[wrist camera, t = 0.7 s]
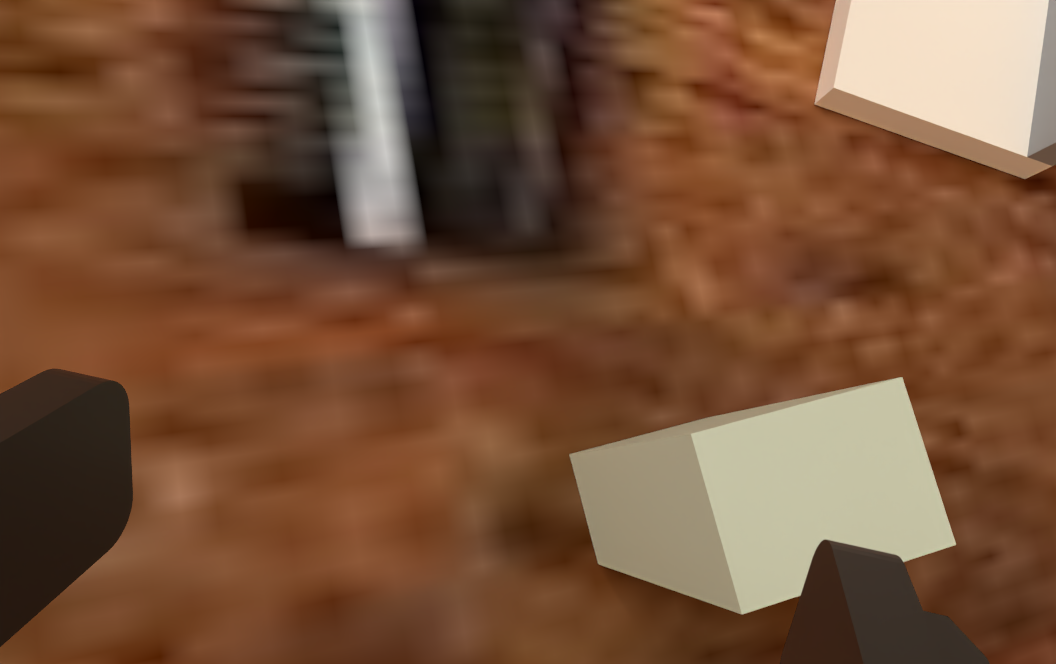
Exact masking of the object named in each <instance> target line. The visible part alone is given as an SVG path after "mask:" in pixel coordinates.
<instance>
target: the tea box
mask: <svg viewBox="0 0 1056 664" xmlns="http://www.w3.org/2000/svg"><path fill="white" fill-rule="evenodd" d="M569 455H570V459H571V463H572V466H573V470H574V474H575V478H576V482H577V485H578V489H579V493H580V497H581V501H582V505H583V508H584V512H585V516H586V520H587V524H588V527H589V531H590V535H591V539H592V543H593V546H594V550H595V554H596V558H597V562H598V564H599V565H602V566H605V567H608V568H610V569H613V570H616V571H619V572H622V573H625V574H628V575H630V576H633V577H636V578H639V579H642V580H645V581H648V582H650V583H653V584H656V585H659V586H662V587H665V588H668V589H670V590H673V591H676V592H679V593H682V594H685V595H688V596H690V597H693V598H696V599H699V600H702V601H705V602H708V603H710V604H713V605H716V606H719V607H722V608H725V609H728V610H730V611H733V612H736V613H739V614H745V613H748V612H752V611H755V610H758V609H761V608H764V607H767V606H770V605H773V604H776V603H779V602H782V601H785V600H788V599H791V598H794V597H798V596H801V593H802V589H803V586H804V583H805V580H806V577H807V574H808V571H809V567H810V564H811V561H812V558H813V555H814V553H815V551H816V548H817V547H818V545H819V544H820V542H821V541H823V540H826V539H827V540H831V541H836V542H840V543H845V544H849V545H854V546H858V547H863V548H868V549H872V550H877V551H881V552H886V553H890V554H895V555H898V556H899V557H900V558H901V559H902V561H903V562H905V561H908V560H911V559H914V558H917V557H920V556H923V555H926V554H930V553H933V552H936V551H939V550H942V549H945V548H948V547H951V546H954V545H956V543H955V540H954V536H953V533H952V530H951V527H950V524H949V521H948V518H947V515H946V512H945V508H944V505H943V502H942V499H941V496H940V493H939V490H938V487H937V484H936V480H935V477H934V474H933V471H932V468H931V465H930V462H929V459H928V456H927V453H926V449H925V446H924V443H923V440H922V437H921V434H920V431H919V428H918V425H917V421H916V418H915V415H914V412H913V409H912V406H911V403H910V400H909V397H908V393H907V390H906V387H905V384H904V381H903V378H902V377H899V378H895V379H890V380H885V381H880V382H876V383H871V384H866V385H861V386H856V387H852V388H847V389H842V390H837V391H833V392H828V393H823V394H818V395H813V396H809V397H804V398H799V399H794V400H790V401H785V402H780V403H775V404H770V405H766V406H761V407H756V408H751V409H747V410H742V411H737V412H732V413H727V414H723V415H718V416H713V417H708V418H704V419H700V420H697V421H693V422H689V423H685V424H682V425H678V426H674V427H670V428H667V429H663V430H659V431H655V432H652V433H648V434H644V435H640V436H636V437H633V438H629V439H625V440H621V441H618V442H614V443H610V444H606V445H603V446H599V447H595V448H591V449H588V450H584V451H580V452H576V453H573V454H569Z"/></svg>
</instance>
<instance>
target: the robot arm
mask: <svg viewBox="0 0 1056 664" xmlns="http://www.w3.org/2000/svg"><path fill="white" fill-rule="evenodd" d="M132 501H133V488H132V464H131V440H130V416H129V401H128V396H127V393H126V391H125V389H124V388H123V386H122V385H121V384H119V383H118V382H115V381H111V380H107V379H102V378H98V377H93V376H88V375H84V374H79V373H75V372H70V371H66V370H61V369H49V370H46V371H44V372H41V373H40V374H38V375H36V376H34V377H32V378H30V379H28V380H26V381H24V382H22V383H20V384H19V385H17V386H15V387H13V388H11V389H9V390H7V391H5V392H3V393H1V394H0V647H1V646H2V645H3V644H4V643H5V642H6V641H7V640H9V639H10V638H11V637H12V636H13V635H14V634H15V633H16V632H18V631H19V630H20V629H21V628H22V627H23V626H24V625H25V624H27V623H28V622H29V621H30V620H31V619H32V618H33V617H34V616H36V615H37V614H38V613H39V612H40V611H41V610H42V609H43V608H45V607H46V606H47V605H48V604H49V603H50V602H51V601H52V600H54V599H55V598H56V597H57V596H58V595H59V594H60V593H61V592H63V591H64V590H65V589H66V588H67V587H68V586H69V585H70V584H72V583H73V582H74V581H75V580H76V579H77V578H78V577H79V576H81V575H82V574H83V573H84V572H85V571H86V570H87V569H88V568H90V567H91V566H92V565H93V564H94V563H95V562H96V561H97V560H99V559H100V558H101V557H102V556H103V555H104V554H105V553H106V552H108V551H109V550H110V549H111V548H112V547H113V545H114V544H115V543H116V542H117V540H118V539H119V537H120V536H121V534H122V532H123V530H124V528H125V526H126V524H127V521H128V518H129V515H130V512H131V507H132ZM780 664H989V662H988V660H987V658H986V657H985V656H984V655H983V653H982V652H981V651H980V650H979V649H978V648H977V647H976V646H975V645H974V644H973V643H972V642H971V641H970V640H969V639H968V637H967V636H966V635H965V634H964V633H963V632H962V631H961V630H960V629H959V628H958V627H957V626H956V625H955V624H954V623H953V621H952V620H951V619H950V618H949V617H948V616H943V615H939V614H934V613H930V612H926V611H923V610H922V607H921V605H920V602H919V600H918V597H917V595H916V592H915V590H914V587H913V585H912V582H911V580H910V577H909V575H908V572H907V570H906V567H905V565H904V563H903V561H902V559H901V558H900V557H899V556H898V555H895V554H890V553H886V552H881V551H877V550H872V549H868V548H863V547H858V546H854V545H849V544H845V543H840V542H836V541H831V540H827V539H826V540H823V541H821V542H820V544H819V545H818V547H817V548H816V551H815V553H814V555H813V558H812V561H811V564H810V567H809V571H808V574H807V577H806V580H805V583H804V586H803V589H802V593H801V596H800V599H799V602H798V605H797V608H796V611H795V615H794V618H793V621H792V624H791V627H790V630H789V633H788V637H787V640H786V643H785V646H784V649H783V653H782V656H781V660H780Z"/></svg>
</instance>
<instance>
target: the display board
mask: <svg viewBox="0 0 1056 664" xmlns="http://www.w3.org/2000/svg"><path fill="white" fill-rule="evenodd" d="M815 105H818V106H820V107H823V108H826V109H829V110H832V111H834V112H837V113H840V114H843V115H846V116H848V117H851V118H854V119H857V120H860V121H863V122H865V123H868V124H871V125H874V126H877V127H879V128H882V129H885V130H888V131H891V132H894V133H896V134H899V135H902V136H905V137H908V138H910V139H913V140H916V141H919V142H922V143H924V144H927V145H930V146H933V147H936V148H939V149H941V150H944V151H947V152H950V153H953V154H955V155H958V156H961V157H964V158H967V159H969V160H972V161H975V162H978V163H981V164H984V165H986V166H989V167H992V168H995V169H998V170H1000V171H1003V172H1006V173H1009V174H1012V175H1015V176H1017V177H1020V178H1023V179H1027V178H1029V177H1031V176H1033V175H1035V174H1037V173H1039V172H1041V171H1043V170H1046V169H1048V168H1050V167H1052V166H1054V165H1056V0H836V3H835V7H834V12H833V17H832V22H831V27H830V32H829V36H828V41H827V46H826V51H825V56H824V61H823V65H822V70H821V75H820V80H819V85H818V89H817V94H816V99H815Z"/></svg>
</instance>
